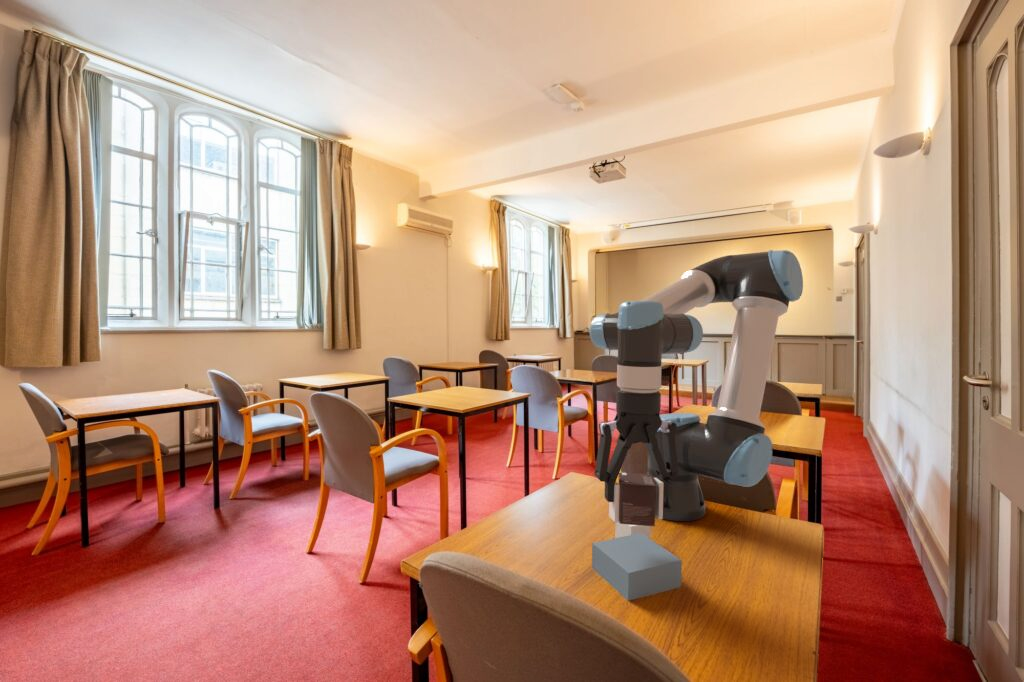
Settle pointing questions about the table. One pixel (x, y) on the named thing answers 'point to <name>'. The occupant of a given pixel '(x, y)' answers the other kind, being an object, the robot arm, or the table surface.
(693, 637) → the table surface
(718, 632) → the table surface
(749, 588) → the table surface
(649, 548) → the slate block
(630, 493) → the box
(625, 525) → the white cube
